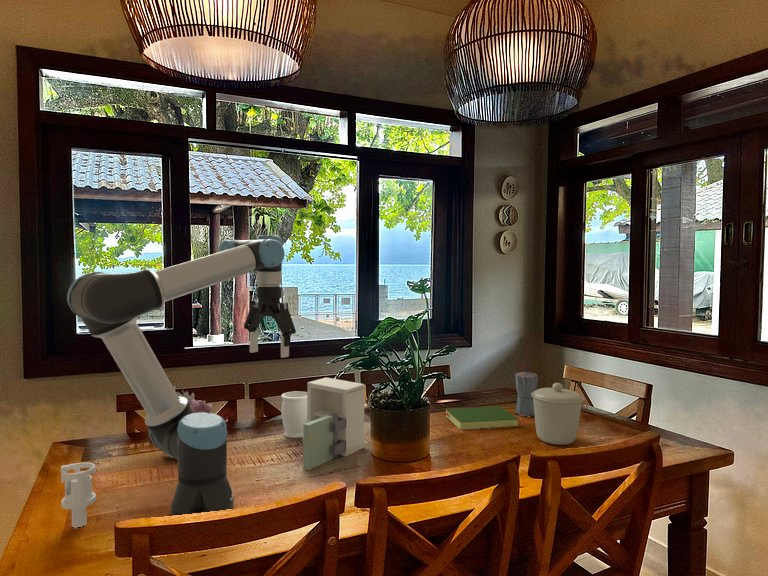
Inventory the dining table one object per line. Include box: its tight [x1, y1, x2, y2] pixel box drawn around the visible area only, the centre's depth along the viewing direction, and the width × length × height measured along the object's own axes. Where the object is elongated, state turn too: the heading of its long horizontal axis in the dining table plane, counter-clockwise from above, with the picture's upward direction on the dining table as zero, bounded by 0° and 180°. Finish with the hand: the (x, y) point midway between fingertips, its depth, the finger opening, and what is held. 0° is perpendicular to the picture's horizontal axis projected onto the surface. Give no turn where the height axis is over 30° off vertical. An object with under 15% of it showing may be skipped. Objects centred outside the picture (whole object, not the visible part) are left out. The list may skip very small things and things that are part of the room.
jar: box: [281, 390, 307, 439], centre depth 190 cm, size 11×10×15 cm
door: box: [301, 413, 339, 471], centre depth 164 cm, size 15×4×14 cm, turn 146°
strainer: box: [60, 461, 97, 529], centre depth 123 cm, size 7×7×15 cm
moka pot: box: [514, 367, 539, 417], centre depth 220 cm, size 10×15×20 cm, turn 163°
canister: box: [531, 382, 585, 446], centre depth 188 cm, size 18×18×21 cm
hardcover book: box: [444, 405, 519, 431], centre depth 210 cm, size 25×19×4 cm
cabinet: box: [306, 376, 366, 457], centre depth 176 cm, size 16×17×22 cm
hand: (268, 354), depth 160 cm, fingers open, 13 cm apart
